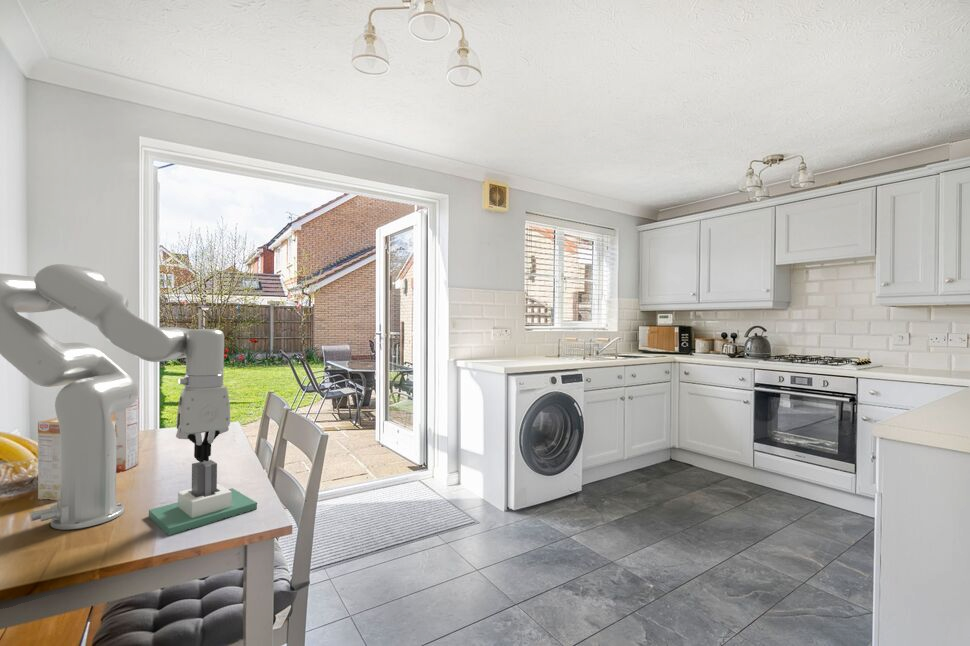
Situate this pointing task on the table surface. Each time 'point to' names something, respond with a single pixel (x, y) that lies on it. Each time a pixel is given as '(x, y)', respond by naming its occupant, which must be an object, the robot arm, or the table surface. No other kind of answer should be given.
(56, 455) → the coffeecake box
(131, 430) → the cracker box
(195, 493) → the plug
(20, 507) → the table surface
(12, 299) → the robot arm
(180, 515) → the board
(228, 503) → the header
